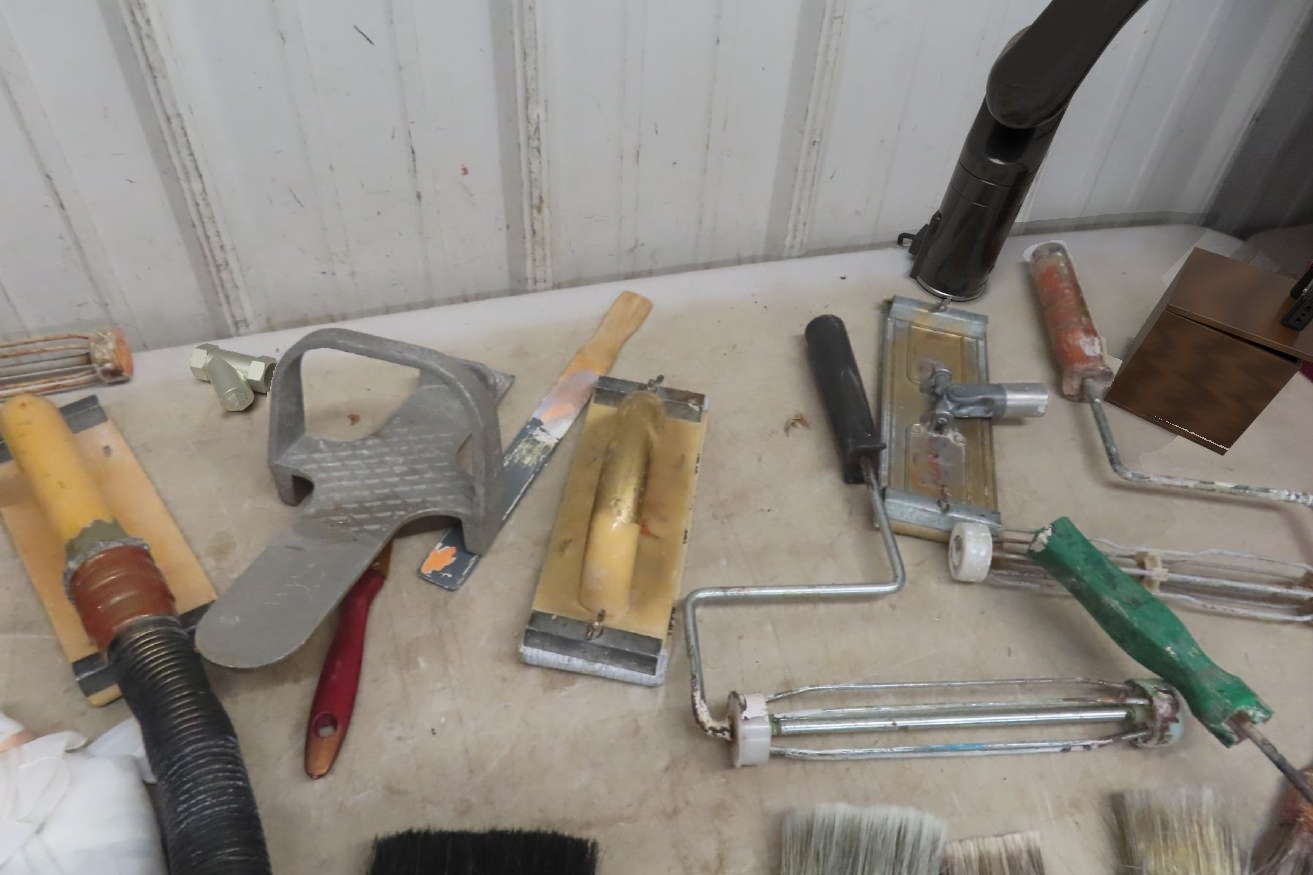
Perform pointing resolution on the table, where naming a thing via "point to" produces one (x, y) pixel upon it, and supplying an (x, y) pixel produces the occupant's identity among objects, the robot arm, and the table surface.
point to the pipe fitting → (232, 374)
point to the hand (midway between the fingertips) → (1295, 311)
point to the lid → (1240, 302)
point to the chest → (1198, 377)
